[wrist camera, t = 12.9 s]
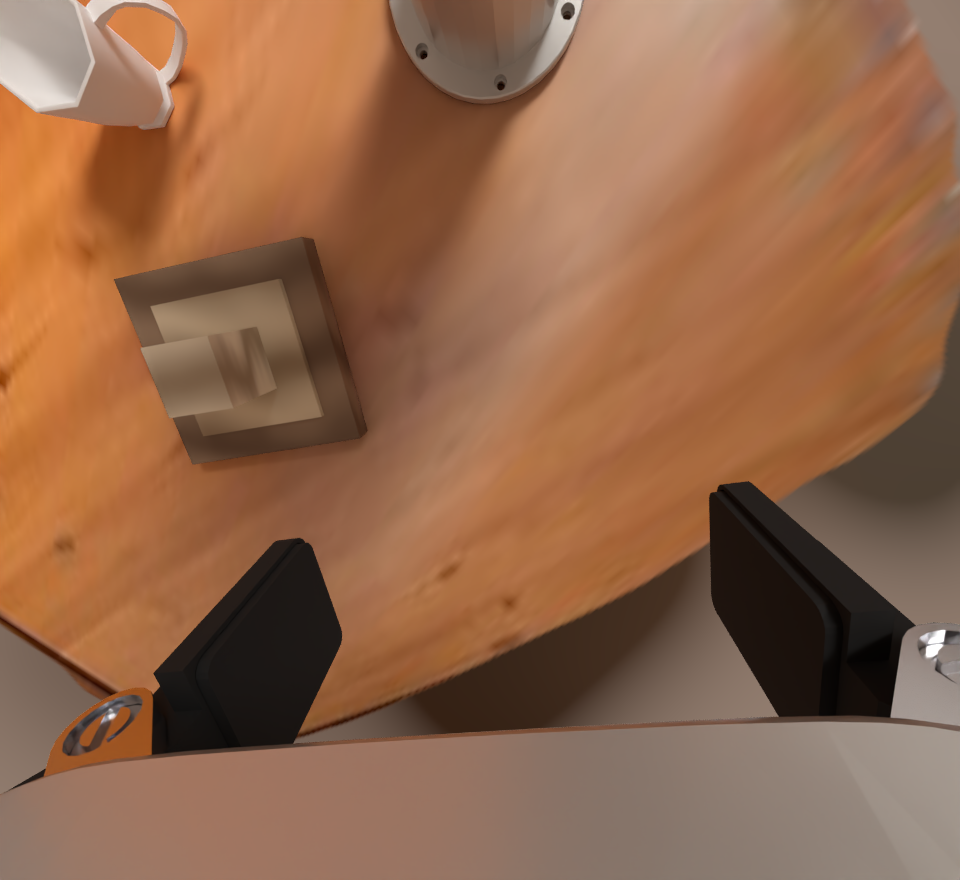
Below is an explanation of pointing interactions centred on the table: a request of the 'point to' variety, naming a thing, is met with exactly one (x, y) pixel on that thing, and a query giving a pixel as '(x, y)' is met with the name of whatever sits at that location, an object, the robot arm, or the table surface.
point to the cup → (85, 62)
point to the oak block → (210, 372)
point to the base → (284, 334)
